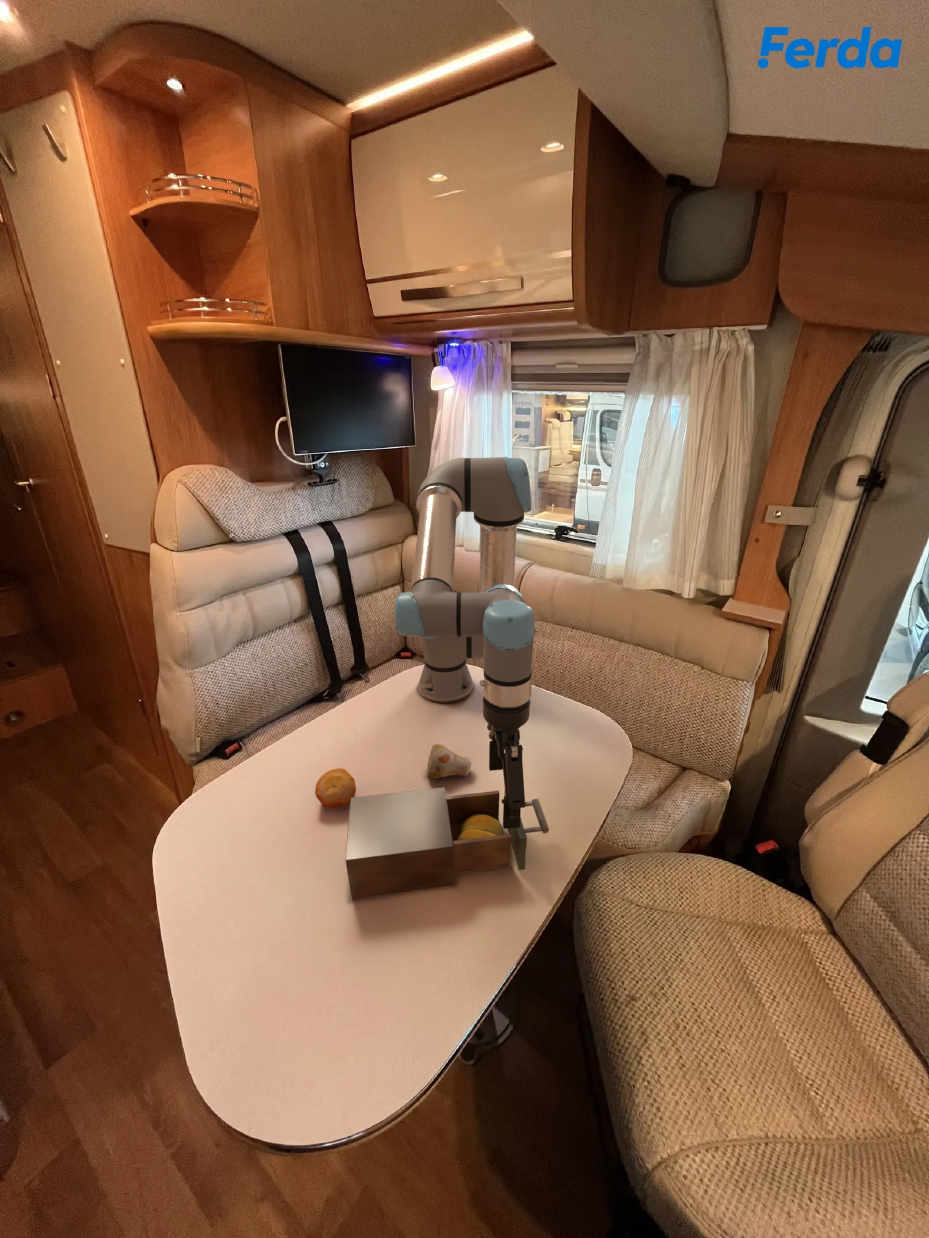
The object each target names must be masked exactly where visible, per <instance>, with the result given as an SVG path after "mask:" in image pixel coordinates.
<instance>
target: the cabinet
mask: <svg viewBox="0 0 929 1238" xmlns="http://www.w3.org/2000/svg"><path fill="white" fill-rule="evenodd" d="M446 796H447V793H446V787H445V786H443V787H435V788H434V787H433V788H425V789H416V790H406V791H398V792H388V793H380V794H379V793H378V794H372V795H371V794H370V795H361V796H354V797H352V798H351V801H350V804H349V813H348V826H347V835H346V837H347V839H346V849H345V866H346V872H347V879H348V884H349V892H350V896H351V900H355V899H364V898H370V897H372V898H373V897H379V896H387V895H393V894H401V893H409V892H416V891H422V890H431V889H437V888H444V887H452V886H455V874H454V847H453V840H452V833H451V826H450V819H449V812H448V805H447V798H446Z"/></svg>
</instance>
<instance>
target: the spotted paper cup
mask: <svg viewBox="0 0 929 1238" xmlns="http://www.w3.org/2000/svg"><path fill="white" fill-rule="evenodd" d="M430 749H431V750H430V753H429V757H428V762H427V766H426V776H428V777H430V778H433V779H434V778H435V779H438V778H445V777H449V776H455V775H457V776H464V777H466V776H467V775H468V774H470V771H471V768H472V761H471V760H470V758H469V757H466V756H462V755H459V754H457V753H455V752H454V751H452V750H451V749H450V748H448V747H446V746H444V745H442V744H438V743H437V744H433V745H432V746H431V748H430Z"/></svg>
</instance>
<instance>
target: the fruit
mask: <svg viewBox="0 0 929 1238" xmlns="http://www.w3.org/2000/svg"><path fill="white" fill-rule="evenodd" d="M356 792H357V786H356V781H355V778H354V777H353V775H352V774H351V773H350V772H349V771H347V770H346V769H345V768H343V767H342V768H338V767H337V768H333V769H330V770H328V771H326V772H324V773H323V774H322V775H321V776H320V777H319V778H318V780H317V781H316V784H315V790H314V794H315V798H316V799H317V800H318V802H319V803H320V804H322V805H323V806H324V807H325V808H327V809H330V810H331V809H341V808H342V809H343V808H345V807H347V806H350V801H351V798H352V797H356Z"/></svg>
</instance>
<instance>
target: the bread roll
mask: <svg viewBox="0 0 929 1238" xmlns="http://www.w3.org/2000/svg"><path fill="white" fill-rule="evenodd" d="M499 821H500V820H499ZM499 821H498V820H496V819H495V818H493V817H491V816H488V815H485V814H475V815H472V816H470V817H468V818H467V819H466V820H465V821H464V822H463V824H462V827H461V834H460V835H459V837H458V840H465V839H474V838H482V837H490V836H498V835H505V833H504V828H503V825H502V824H501V822H500V823H499Z"/></svg>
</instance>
